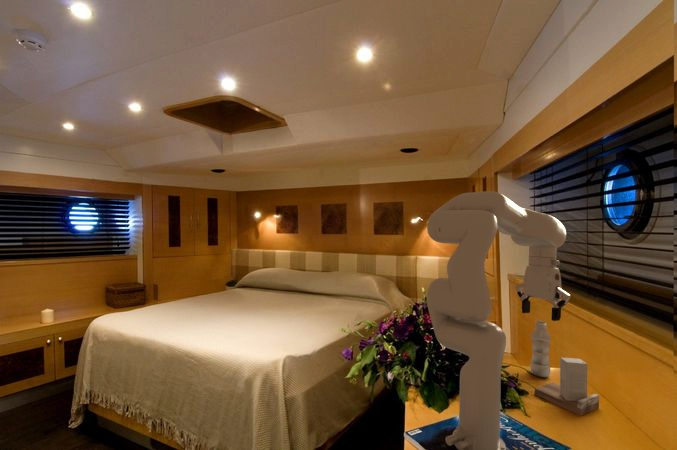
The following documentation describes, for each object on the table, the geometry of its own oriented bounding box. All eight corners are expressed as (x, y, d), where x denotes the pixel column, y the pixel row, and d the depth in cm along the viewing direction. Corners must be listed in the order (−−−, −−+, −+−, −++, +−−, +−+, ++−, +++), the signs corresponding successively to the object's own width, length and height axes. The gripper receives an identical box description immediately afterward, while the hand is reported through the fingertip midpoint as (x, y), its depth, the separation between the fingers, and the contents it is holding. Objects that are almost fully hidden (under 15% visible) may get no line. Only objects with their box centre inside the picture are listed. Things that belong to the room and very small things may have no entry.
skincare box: (579, 395, 108) (580, 358, 108) (587, 402, 104) (588, 363, 104) (559, 394, 109) (559, 356, 109) (566, 400, 105) (566, 362, 105)
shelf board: (582, 416, 100) (582, 402, 100) (534, 394, 112) (534, 382, 112) (599, 408, 104) (600, 395, 104) (552, 388, 117) (552, 376, 117)
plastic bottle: (532, 378, 125) (533, 324, 125) (528, 370, 131) (529, 319, 131) (552, 380, 123) (553, 325, 123) (547, 373, 129) (548, 321, 129)
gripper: (578, 265, 101) (576, 322, 101) (524, 260, 117) (522, 309, 117) (563, 265, 98) (561, 324, 98) (509, 260, 114) (507, 311, 113)
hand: (540, 316), depth 107 cm, fingers open, 9 cm apart
